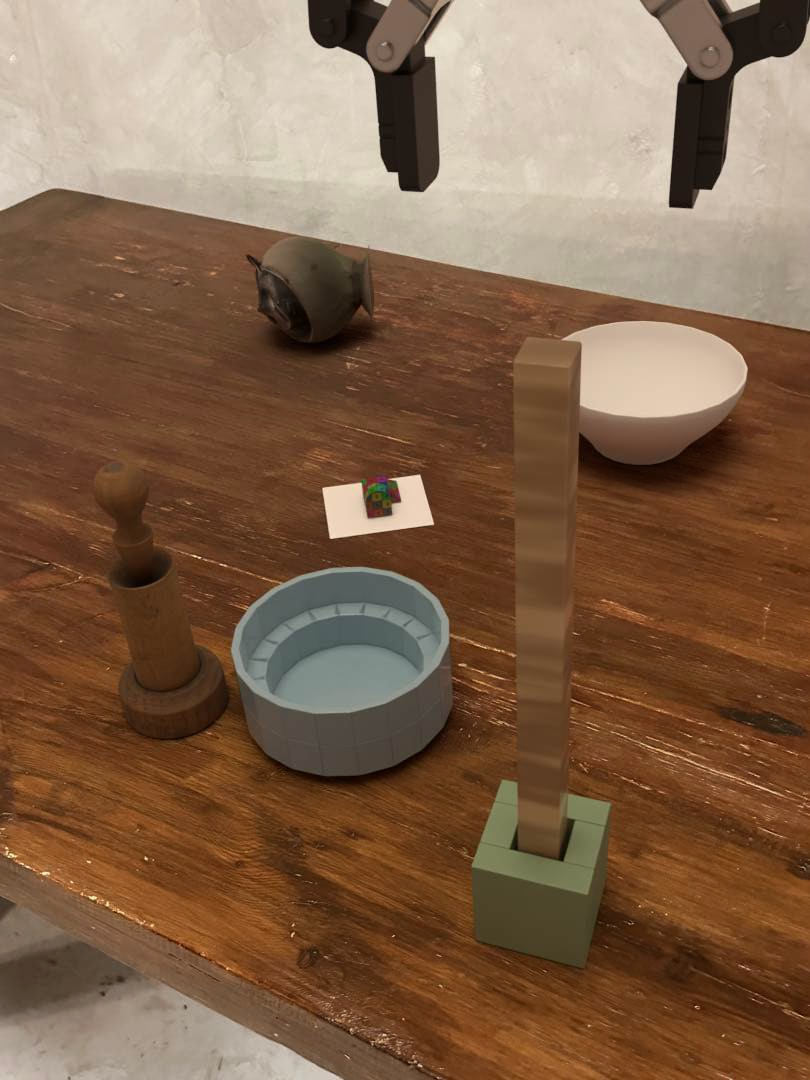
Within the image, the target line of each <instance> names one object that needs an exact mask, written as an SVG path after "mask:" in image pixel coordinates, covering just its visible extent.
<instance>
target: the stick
mask: <svg viewBox="0 0 810 1080" xmlns="http://www.w3.org/2000/svg"><path fill="white" fill-rule="evenodd" d="M581 351H582V344H581V342H578V341H568V340H562V339H558V338H548V337H547V338H546V337H545V338H544V337H536V336H535V337H534V336H527V337H526V338H525V340H524V342H523V343H522V345H521V347H520V349H519V351H518V353H517V355H516V356H515V358H514V360H513V362H512V383H513V384H512V385H513V386H512V388H513V389H512V393H513V395H512V396H513V400H512V401H513V402H512V403H513V475H514V476H513V483H514V484H513V485H514V487H513V489H514V492H513V493H514V494H513V495H514V499H513V500H514V501H513V502H514V503H513V504H514V590H515V591H514V593H515V594H514V595H515V599H514V601H515V673H516V674H515V684H516V685H515V689H516V695H515V696H516V698H515V699H516V701H515V702H516V782H517V802H518V851H519V852H523V853H527V854H532V855H536V856H540V857H544V858H548V859H553V860H557V861H561V862H563V861H564V857H565V854H566V845H567V812H568V794H569V777H570V776H569V775H570V774H569V772H570V748H571V747H570V746H571V745H570V743H571V740H570V739H571V714H572V712H571V711H572V707H571V706H572V680H573V679H572V677H573V645H574V644H573V643H574V616H575V615H574V612H575V611H574V610H575V580H576V579H575V578H576V577H575V576H576V550H577V549H576V548H577V547H576V544H577V543H576V542H577V516H578V515H577V512H578V511H577V510H578V483H579V482H578V478H579V447H580V445H579V443H580V441H579V440H580V432H579V417H580V384H581Z"/></svg>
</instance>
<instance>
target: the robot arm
mask: <svg viewBox="0 0 810 1080" xmlns="http://www.w3.org/2000/svg"><path fill="white" fill-rule="evenodd" d="M454 1H455V0H391V1H389V4H388V5H385V4H382V3H380V2H378V1H376V0H307V18H308V29H309V33H310V35H311V38H312V39H313V40H314V42H315V43H316V44H317V45H318V46H320V47H322V48H323V49H327V50H331V49H336V48H340V49H342V50H344V51H347V52H349V53H352V54H354V55H357V56H358V57H360V58H362V59H363V60H364V61H365V62H366V63H367V64H368V65H369V67H370V70H371V71H372V74H373V78H374V88H375V100H376V113H377V114H376V115H377V124H378V126H377V128H378V137H379V140H378V141H379V152H380V153H379V154H380V159H381V161H382V163H383V166H384V167H385V170H386V172H387V173H393V174H394V173H395V174H397V181H398V187H399V189H400V191H401V192H408V193H409V192H411V193H424V192H425V191H426V190H427V189H428V188H429V187H430V186H431V185H432V184H433V182H435V180H436V179H437V178H438V176H439V171H440V165H441V164H440V162H441V159H440V141H439V140H440V136H439V134H440V133H439V116H438V115H439V114H438V95H437V94H438V93H437V92H438V91H437V73H436V72H437V71H436V57H435V56H426V45H427V44H428V42H429V41H430V39H431V38H432V37H433V35H434V33H435V31H436V30H437V28H438V26H439V25H440V23H441V22H442V20H443V19H444V17H445V16H446V14H447V13H448V11H449V9H450V8H451V6H452V5H453V3H454ZM639 2H640V3H641V5H642V6H643V8H644V9H645V10H646V12H648V14H649V15H651V16H652V17H653V18H655V19H656V20H657V21H658V22H659V24H660V25H661V27H662V28H663V30H664V31H665V33H666V34H667V36H668V37H669V39H670V40H671V42H672V43H673V45H674V47H675V49H676V50H677V51H678V53H679V54H680V56H681V57H682V59H683V61H684V63H686V67H685V68H684V70H683V73H682V74H681V76H680V78H679V80H678V82H677V86H676V87H677V88H676V100H675V113H674V126H673V127H674V128H673V139H672V150H671V151H672V152H671V165H670V177H669V178H670V179H669V190H668V192H669V193H668V208H669V209H670V208H671V209H685V210H687V209H689V210H693V209H694V208H695V205H696V202H697V199H698V197H699V194H700V190H701V191H702V190H703V191H712V190H713V189H714V187H715V185H716V183H717V181H718V180H719V177H720V175H721V174H722V170H723V168H724V165H725V162H726V160H727V154H728V142H729V134H730V123H731V114H732V106H733V97H734V96H733V95H734V88H735V87H734V86H735V77H736V75H737V74H738V73H739V72H740V71H741V70H743V69H744V68H745V67H746V66H749V65H751V64H753V63H756V62H759V61H762V60H766V59H769V58H771V57H773V58H777V59H779V58H786V57H789V56H791V55H794V53H795V52H797V51H798V50H799V49H800V47H801V46H802V45H803V43H804V41H805V38H806V34H807V30H808V24H809V21H810V0H759V2H757V3H754V4H751V5H748V6H746V7H743V8H740V9H737V10H735V11H733V10H732V9H731V7H730V5H729V3H728V2H727V0H639Z"/></svg>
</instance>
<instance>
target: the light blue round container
mask: <svg viewBox="0 0 810 1080" xmlns="http://www.w3.org/2000/svg"><path fill="white" fill-rule="evenodd" d="M450 627H451V626H450V618H449V617H448V614H447V613H446V610H445V609H444V607H443V605H442V604H441V601H440V599H438V597H437V596H436V595H434V594H433V593H432V592H431V591H429V589H427V588H426V587H425V586H424V585H422V584H421V583H420V582H418V581H416V580H414V579H411V578H409V577H406V576H404V575H402V574H400V573H397V572H395V571H392V570H385V569H378V568H372V567H366V566H347V567H331V568H330V567H329V568H326V569H320V570H317V571H313V572H309V573H308V572H307V573H305V574H300V575H298V576H296V577H294V578H291V579H289V580H287V581H285V582H283V583H281V584H278V585H276V586H274V587H273V588H271V589H269V590H268V591H267V592H266V593H265V594H263V595H262V596H261V597H260V598H258V599H257V600H256V601H254V602H253V603H252V604H251V605H250V606H249V607H248V608H247V610H246V611H245V613H244V614H243V616H242V617H241V618H240V620H239V621H238V622H237V624H236V626H235V628H234V632H233V638H232V643H231V647H230V654H231V659H232V664H233V667H234V672H235V677H236V681H237V687H238V692H239V696H240V700H241V701H240V702H241V705H242V709H243V714H244V718H245V723H246V726H247V730H248V733H249V735H250V736H251V738H252V739H253V740H254V741H255V743H256V744H257V745H258V746H259V747H260V749H261V750H262V751H263V752H264V754H265V755H267V756H268V757H270V758H272V759H273V760H275V761H277V762H279V763H281V764H282V765H284V766H286V767H288V768H290V769H292V770H295V771H300V772H305V773H309V774H313V775H318V776H320V777H321V776H322V777H349V776H350V777H354V776H355V777H356V776H363V775H366V774H370V773H375V772H377V771H381V770H384V769H389V768H392V767H394V766H396V765H398V764H400V763H402V762H403V761H405V760H407V759H408V758H410V757H412V756H414V755H416V754H418V753H419V752H421V751H422V750H423V749H424V748H425V747H426V746H427V745H428V744H429V743H430V742H431V741H432V740H433V739H434V738H435V737H436V736H437V735H438V734H439V733H440V732H441V731H442V729H444V727H445V724H446V722H447V720H448V717H449V715H450V712H451V710H452V708H453V706H454V686H453V685H454V684H453V681H454V680H453V664H452V645H451V631H450V630H451V628H450Z"/></svg>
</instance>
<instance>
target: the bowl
mask: <svg viewBox="0 0 810 1080" xmlns="http://www.w3.org/2000/svg"><path fill="white" fill-rule="evenodd" d="M561 340H568V341H578V342H581V344H582V351H581V384H580V417H579V434H580V435H582V436H583V437H584V438H585V439H586V440H587V441H588V442H589V443H590V444H591V445H592V446H593V447H594V449H595V450H596V451H597V452H598V453H600V454H601V455H602V456H603V457H605V458H607V459H609V460H612V461H615V462H616V463H617V462H618V463H621V464H626V465H634V466H648V465H649V466H650V465H655V464H661V463H664V462H667V461H670V460H671V459H674V458H675V457H677V456H678V455H680V454H681V453H682V452H683V451H684V450H686V448H687V447H689V445H691V444H692V443H694V442H696V441H697V440H698V439H700V438H701V437H703V436H704V435H706V434H708V433H709V432H711V431H712V430H713V429H714V428H716V427H717V426H718V425H720V424H721V423H722V422H723V421H724V420H725V419H726V418H727V417H728V415H729V414H730V413H731V412H732V411H733V409H734V407H735V406H736V405H737V404H738V402H739V400H740V399H741V397H742V395H743V394H744V390H745V387H746V383H747V377H748V370H749V367H748V366H747V364H746V361H745V359H744V357H743V355H742V354H741V353H740V351H738V350H737V349H736V348H735V347H734V346H733V345H732V344H731V343H729V342H728V341H725V340H724V339H722V338H720V337H719V336H717V335H715V334H713V333H710V332H707V331H704V330H702V329H698V328H695V327H692V326H687V325H681V324H678V323H677V324H676V323H672V322H662V321H651V320H650V321H649V320H648V321H647V320H636V321H635V320H632V321H617V322H611V323H605V324H600V325H599V324H598V325H594V326H591V327H587V328H584V329H581V330H578V331H575V332H573V333H571V334H569V335H567V336H565V337H564V338H562V339H561Z"/></svg>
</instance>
